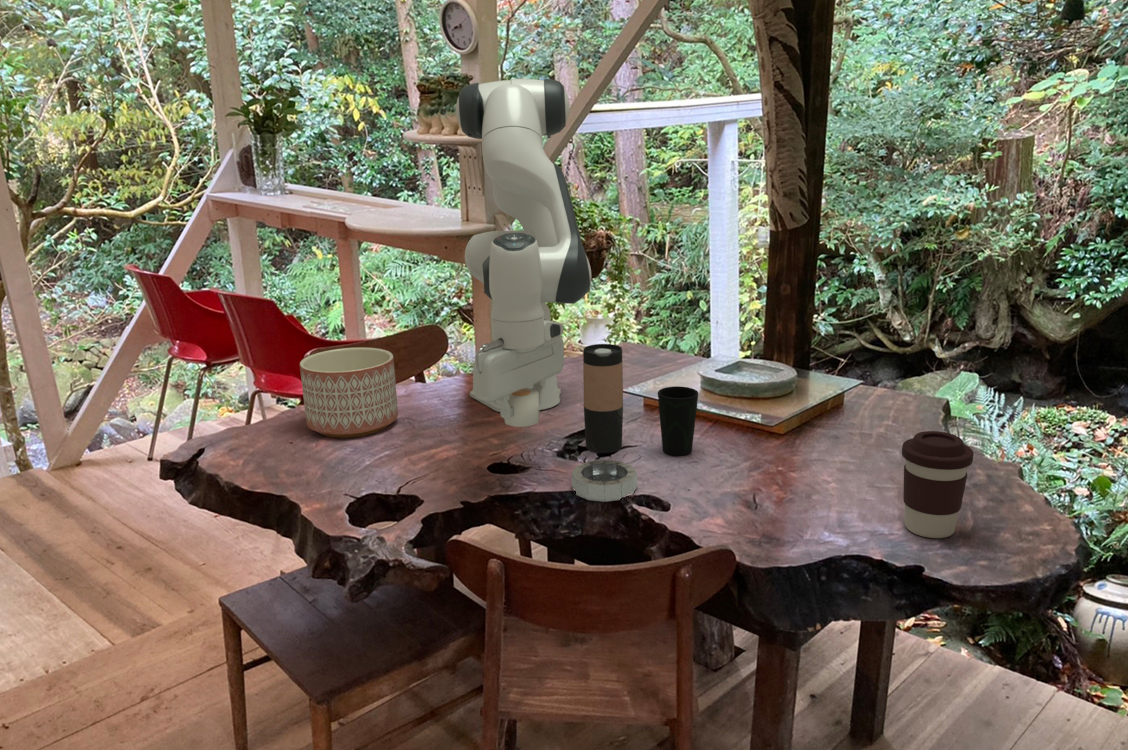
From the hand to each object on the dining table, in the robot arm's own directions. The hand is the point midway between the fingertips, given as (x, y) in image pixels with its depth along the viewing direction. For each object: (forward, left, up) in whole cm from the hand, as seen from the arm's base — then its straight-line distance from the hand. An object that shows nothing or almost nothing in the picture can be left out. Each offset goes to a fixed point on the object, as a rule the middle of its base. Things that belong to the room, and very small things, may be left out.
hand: (521, 411), depth 150 cm
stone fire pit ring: (+10, +10, -14) cm, 20 cm away
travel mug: (-4, +24, -15) cm, 28 cm away
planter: (-52, -4, -15) cm, 54 cm away
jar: (0, 0, -2) cm, 2 cm away
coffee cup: (+57, +34, -15) cm, 68 cm away
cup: (+8, +32, -15) cm, 36 cm away
